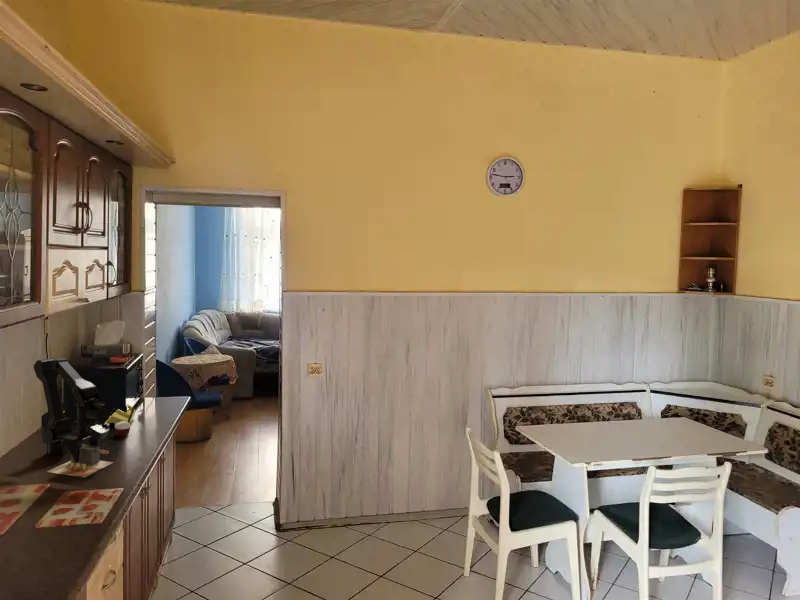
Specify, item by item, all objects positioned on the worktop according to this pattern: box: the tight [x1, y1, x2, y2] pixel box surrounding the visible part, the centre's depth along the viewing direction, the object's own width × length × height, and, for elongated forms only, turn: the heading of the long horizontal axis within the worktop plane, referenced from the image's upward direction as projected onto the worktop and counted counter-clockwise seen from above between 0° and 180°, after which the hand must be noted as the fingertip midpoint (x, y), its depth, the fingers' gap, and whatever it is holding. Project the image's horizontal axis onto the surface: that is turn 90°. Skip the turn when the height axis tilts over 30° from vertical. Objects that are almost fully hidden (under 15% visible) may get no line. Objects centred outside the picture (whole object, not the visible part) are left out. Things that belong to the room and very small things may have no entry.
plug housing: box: [70, 443, 110, 465], centre depth 236 cm, size 14×4×6 cm, turn 79°
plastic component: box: [104, 405, 136, 425], centre depth 294 cm, size 20×7×10 cm
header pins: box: [71, 462, 86, 472], centre depth 227 cm, size 6×1×3 cm, turn 79°
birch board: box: [46, 460, 114, 478], centre depth 232 cm, size 16×16×2 cm
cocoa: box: [111, 406, 136, 437], centre depth 274 cm, size 10×6×12 cm, turn 109°
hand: (85, 457), depth 237 cm, fingers open, 9 cm apart
